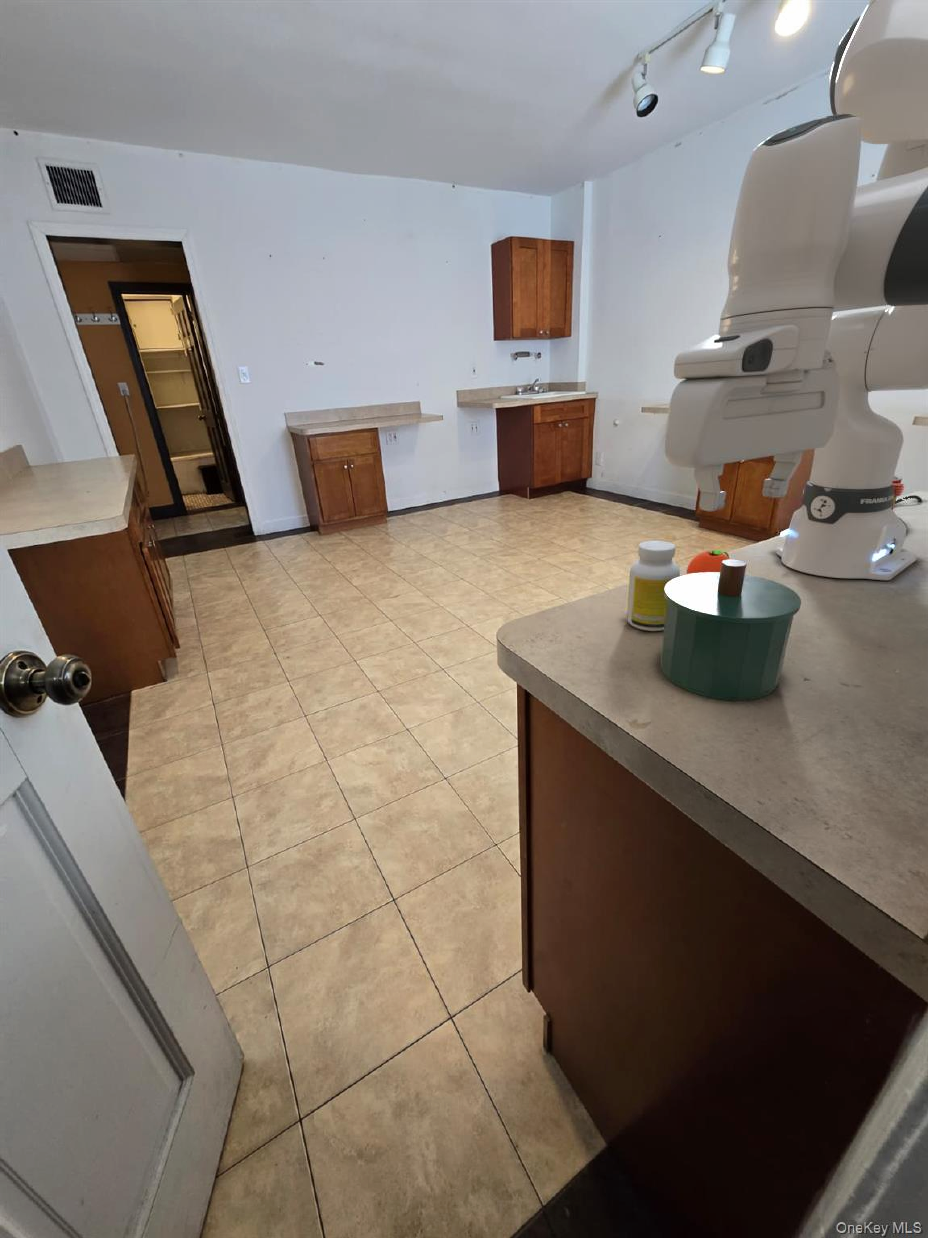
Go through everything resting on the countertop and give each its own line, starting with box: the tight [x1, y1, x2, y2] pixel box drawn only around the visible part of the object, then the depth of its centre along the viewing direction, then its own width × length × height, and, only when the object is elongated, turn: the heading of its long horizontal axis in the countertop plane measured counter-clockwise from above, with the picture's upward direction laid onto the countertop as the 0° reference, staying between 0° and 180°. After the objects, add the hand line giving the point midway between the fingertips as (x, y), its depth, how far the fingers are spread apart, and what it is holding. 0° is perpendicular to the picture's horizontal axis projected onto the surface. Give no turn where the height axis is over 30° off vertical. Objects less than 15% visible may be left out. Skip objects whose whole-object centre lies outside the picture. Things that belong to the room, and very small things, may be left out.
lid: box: [664, 558, 802, 623], centre depth 56 cm, size 14×14×5 cm
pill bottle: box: [626, 540, 681, 632], centre depth 72 cm, size 6×6×12 cm
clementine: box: [686, 549, 730, 575], centre depth 81 cm, size 8×7×7 cm
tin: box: [659, 601, 795, 702], centre depth 59 cm, size 13×13×10 cm
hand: (743, 502), depth 53 cm, fingers open, 8 cm apart
